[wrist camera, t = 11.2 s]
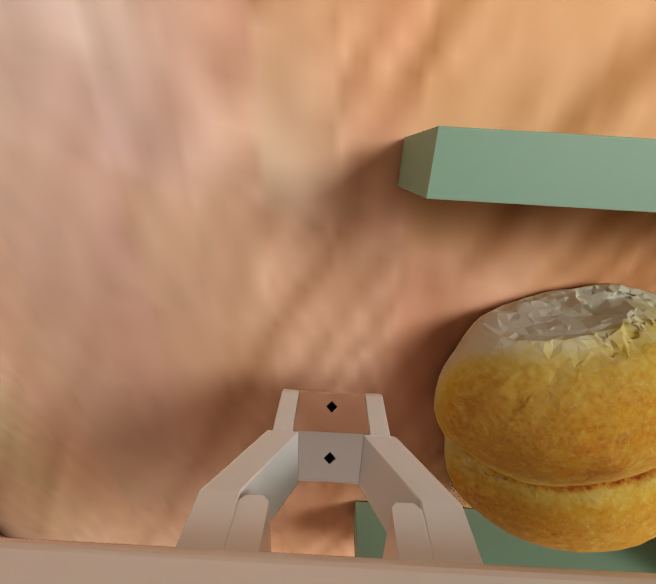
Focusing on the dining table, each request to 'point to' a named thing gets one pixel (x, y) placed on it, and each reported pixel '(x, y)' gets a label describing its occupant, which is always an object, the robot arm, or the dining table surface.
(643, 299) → the bread roll
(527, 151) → the green pocket
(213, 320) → the dining table surface
